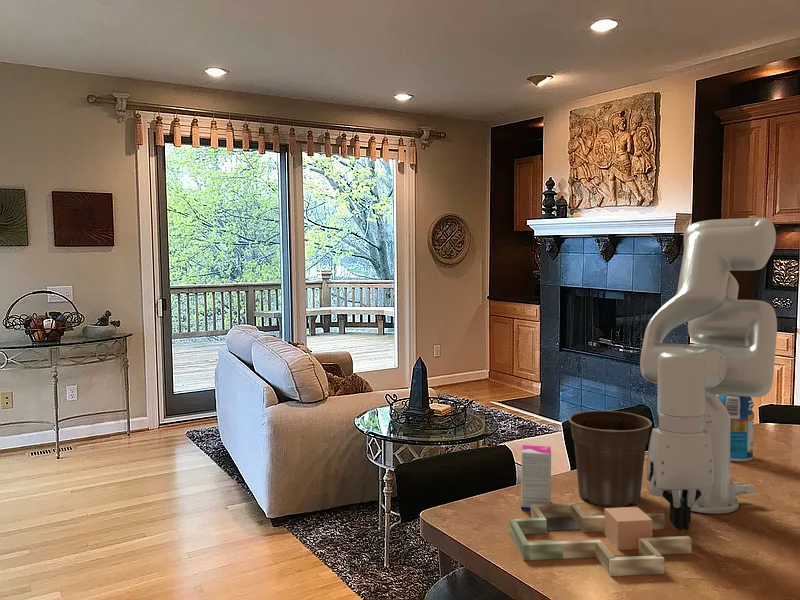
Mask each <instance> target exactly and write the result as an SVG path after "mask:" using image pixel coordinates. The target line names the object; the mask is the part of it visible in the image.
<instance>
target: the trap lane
mask: <svg viewBox="0 0 800 600" xmlns="http://www.w3.org/2000/svg"><path fill="white" fill-rule="evenodd" d="M645 514H646V515H647V516H649V517H650V518H651V519H652V530H665V528H666V527H665V524H666V523H665V514H664V513H662V512H661V513H660V512H657V513H655V512H654V513H645ZM508 520H509V524H508V525H509V526H508V527H509V529H508V530H509V535H510V537H511V538H512V540H513V542H514V544H515V547H516V548H517V550H518V551H519V555H520V556H521V558H522V560H523V561H535V560H536V561H539V560H561V559H562V560H563V559H567V560H568V559H582V558H583V559H584V558H585V559H586V558H587V559H588V558H596V559H597V560H598V562H599V563H600V565H601V566H602V567H603V569H605V571H606V572H607V574H608V575H609V576H610V577H620V576H621V577H622V576H643V575H645V576H647V575H664V574H665V557H664V556H663V555H681V554H682V555H683V554H692V538H691V537H690V536H689V535H682V536H661V537H660V536H658V537H655V536H654V537H653V536H652V538H638V549H637V550H638V551H637V552H638V553H636V554H615V555H614V554H613V553H612V552H611V551H610V550H609V549H608V548H607V546H606V545H605V544H604V543H603V542H602V541H601V540H600V539H584V540H583V539H582V540H559V541H557V540H555V541H554V540H553V541H535V542H533V541H531V542H529V541H528V539H527V538H526V536H525V535H540V534H541V535H542V534H545V535H547V534H548V533H547V532H557V531H558V532H561V531H562V532H563V531H581V532H582V533H593V532H594V533H595V532H597V533H598V532H604V515H602V514H601V515H586V514H585V513H584V512H583V510H582V509H581V508H580V507H579V506H578V504H576V502H566V503H565V502H562V503H551V504H534V505H531V510H530V517H529V518H527V517H525V518H524V517H523V518H509V519H508Z"/></svg>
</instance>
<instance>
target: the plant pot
mask: <svg viewBox="0 0 800 600" xmlns="http://www.w3.org/2000/svg"><path fill="white" fill-rule="evenodd" d="M568 423H569V424H570V430H571V438H572V439H573V443H574V453H575V456H574V457H575V464H576V473H577V474H576V476H577V486H578V487H577V488H578V489H577V490H578V495H579V497H580V498H581V499H583V500H588V501H589V503H590V504H594V505H598V506H602V507H607V508H621V507H628V505H630V504H632V505H636V504H638V503H639V502H640V500H641V497H642V485H643V475H644V464H645V457H646V454H645V453H646V447H647V444H649V435H650V429H651V428H652V426H653V422H652V421H651V420H650V419H649V418H647V417H645V416H642V415H640V414H639V415H638V414H635V413H631V412H625V411H617V410H586V411H580V412H579V411H578V412H575V413H572V414H570V416H568Z"/></svg>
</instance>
